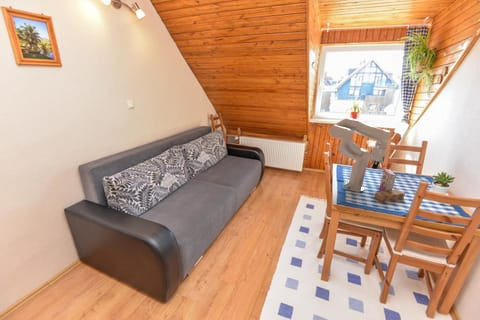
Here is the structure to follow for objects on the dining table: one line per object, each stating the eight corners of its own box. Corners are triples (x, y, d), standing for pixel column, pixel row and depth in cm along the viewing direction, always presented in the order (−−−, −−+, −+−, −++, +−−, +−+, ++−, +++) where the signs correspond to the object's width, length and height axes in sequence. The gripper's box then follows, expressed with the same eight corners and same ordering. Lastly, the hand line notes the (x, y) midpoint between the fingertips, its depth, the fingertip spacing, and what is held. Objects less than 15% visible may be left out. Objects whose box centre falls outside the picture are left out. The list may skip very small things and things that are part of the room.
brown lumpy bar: (380, 202, 152) (382, 196, 150) (373, 198, 157) (375, 192, 156) (403, 199, 157) (405, 193, 155) (395, 195, 163) (397, 189, 161)
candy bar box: (378, 188, 173) (383, 168, 167) (385, 189, 171) (390, 169, 166) (383, 194, 162) (388, 174, 157) (390, 195, 161) (396, 175, 156)
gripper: (369, 143, 175) (363, 165, 180) (384, 148, 161) (377, 172, 167) (377, 143, 176) (371, 165, 182) (392, 149, 162) (386, 172, 168)
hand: (374, 168), depth 174 cm, fingers closed
